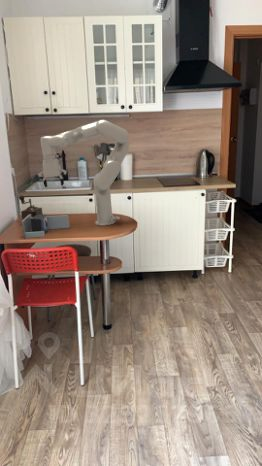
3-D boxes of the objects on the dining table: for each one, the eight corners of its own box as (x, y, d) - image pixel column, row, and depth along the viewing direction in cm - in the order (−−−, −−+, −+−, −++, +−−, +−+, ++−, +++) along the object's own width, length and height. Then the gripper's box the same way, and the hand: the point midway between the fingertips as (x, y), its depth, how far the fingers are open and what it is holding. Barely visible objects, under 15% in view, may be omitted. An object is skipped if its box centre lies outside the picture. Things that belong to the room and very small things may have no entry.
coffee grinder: (44, 220, 258) (41, 194, 252) (36, 225, 247) (32, 197, 242) (24, 220, 262) (20, 194, 257) (15, 225, 252) (11, 198, 246)
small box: (42, 235, 222) (40, 218, 219) (32, 236, 224) (29, 218, 221) (49, 230, 232) (47, 214, 229) (39, 230, 234) (36, 214, 231)
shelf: (69, 227, 236) (67, 211, 233) (64, 235, 220) (62, 218, 217) (31, 229, 237) (29, 214, 234) (23, 238, 220) (21, 221, 218)
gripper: (65, 155, 227) (69, 183, 232) (36, 158, 227) (41, 186, 232) (63, 156, 220) (67, 185, 225) (33, 159, 220) (38, 188, 225)
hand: (54, 186), depth 229 cm, fingers open, 9 cm apart
